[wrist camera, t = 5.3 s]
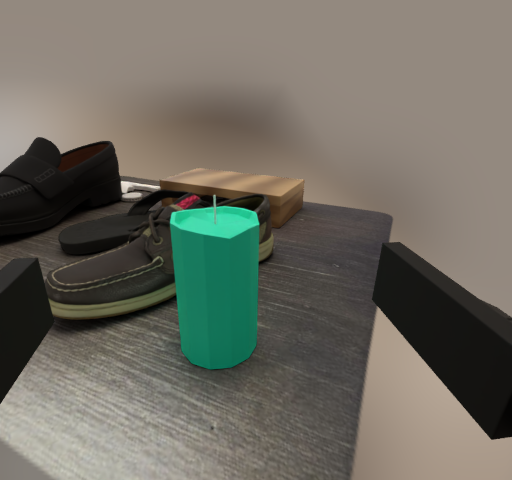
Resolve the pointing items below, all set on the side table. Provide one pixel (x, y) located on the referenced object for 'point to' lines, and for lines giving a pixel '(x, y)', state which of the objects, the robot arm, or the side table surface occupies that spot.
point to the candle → (216, 283)
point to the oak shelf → (240, 189)
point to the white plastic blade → (137, 187)
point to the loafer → (55, 184)
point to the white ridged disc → (132, 197)
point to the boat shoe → (135, 268)
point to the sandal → (122, 223)
